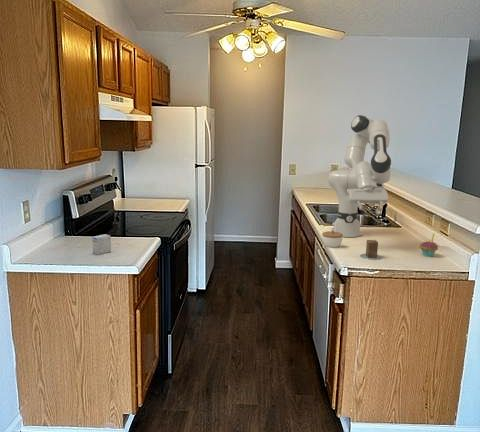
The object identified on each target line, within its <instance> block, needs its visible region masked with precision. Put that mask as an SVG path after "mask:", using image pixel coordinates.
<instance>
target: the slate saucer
mask: <svg viewBox="0 0 480 432" xmlns="http://www.w3.org/2000/svg"><path fill="white" fill-rule="evenodd" d="M359 257H360V258H362V259H364V260H370V261H379V260H383V258H384V257H383V256H382V255H379V254H377V258H368V257H367V256H366V253H362V254H360V255H359Z"/></svg>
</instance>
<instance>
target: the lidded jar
mask: <svg viewBox="0 0 480 432" xmlns="http://www.w3.org/2000/svg"><path fill="white" fill-rule="evenodd" d="M321 236H322V243H323V245H324V246H325V247H326V248H333V249H334V248H339V247H340V246H341V244H342V243H343V237H342V236H343V234H342V233H339V232H334V231H333V230H332V231H331V230H330V231H324V232H322V235H321Z"/></svg>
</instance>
